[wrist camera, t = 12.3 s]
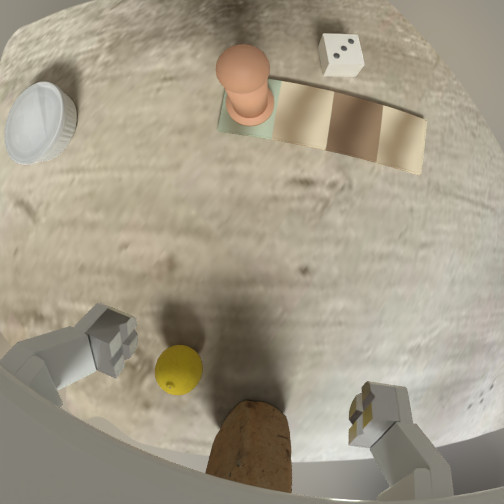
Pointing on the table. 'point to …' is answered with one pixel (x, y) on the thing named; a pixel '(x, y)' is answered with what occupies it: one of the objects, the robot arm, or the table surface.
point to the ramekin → (40, 124)
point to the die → (340, 55)
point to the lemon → (178, 369)
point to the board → (338, 125)
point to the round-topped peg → (246, 84)
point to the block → (253, 448)
